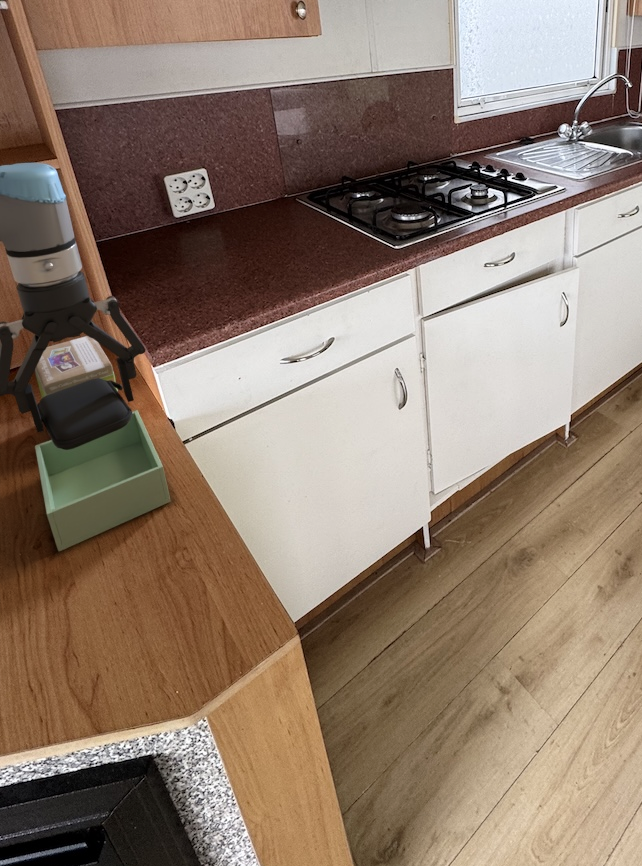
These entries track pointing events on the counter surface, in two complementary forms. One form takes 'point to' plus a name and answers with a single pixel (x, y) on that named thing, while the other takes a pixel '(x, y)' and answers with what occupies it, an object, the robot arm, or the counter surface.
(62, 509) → the storage bin
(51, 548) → the counter surface
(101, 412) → the carrying case
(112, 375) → the tea box
